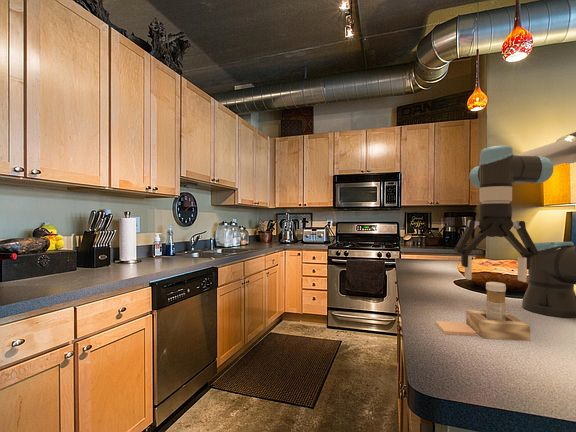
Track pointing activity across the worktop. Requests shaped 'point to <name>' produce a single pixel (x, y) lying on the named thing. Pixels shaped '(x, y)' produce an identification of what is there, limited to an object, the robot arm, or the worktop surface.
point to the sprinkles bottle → (496, 301)
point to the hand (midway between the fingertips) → (494, 280)
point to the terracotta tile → (455, 328)
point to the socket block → (498, 326)
